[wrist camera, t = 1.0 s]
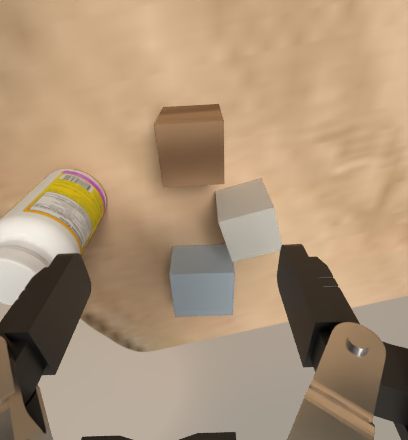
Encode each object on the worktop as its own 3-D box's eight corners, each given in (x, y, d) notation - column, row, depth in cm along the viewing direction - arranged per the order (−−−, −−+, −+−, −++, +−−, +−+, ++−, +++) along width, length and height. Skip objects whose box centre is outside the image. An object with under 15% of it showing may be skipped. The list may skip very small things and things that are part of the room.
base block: (172, 245, 34) (169, 274, 30) (230, 243, 34) (234, 272, 30) (177, 285, 38) (174, 316, 33) (229, 284, 38) (232, 314, 33)
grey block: (215, 191, 30) (218, 222, 25) (261, 177, 29) (274, 207, 24) (227, 227, 32) (232, 262, 27) (269, 216, 31) (283, 250, 26)
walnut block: (163, 107, 25) (154, 124, 20) (218, 104, 25) (223, 120, 20) (169, 160, 28) (163, 187, 23) (219, 157, 28) (224, 183, 23)
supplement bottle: (63, 225, 32) (-7, 321, 21) (32, 173, 28) (-72, 256, 18) (118, 215, 31) (74, 309, 20) (93, 160, 28) (25, 238, 17)
